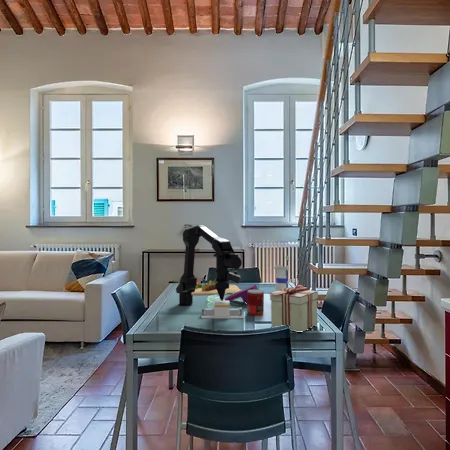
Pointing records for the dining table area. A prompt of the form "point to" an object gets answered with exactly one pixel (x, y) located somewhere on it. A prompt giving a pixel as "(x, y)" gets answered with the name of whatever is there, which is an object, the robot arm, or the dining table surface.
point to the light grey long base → (210, 314)
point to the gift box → (294, 308)
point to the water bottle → (281, 276)
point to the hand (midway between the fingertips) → (221, 300)
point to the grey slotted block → (222, 308)
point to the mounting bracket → (241, 294)
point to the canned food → (255, 302)
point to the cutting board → (212, 289)
